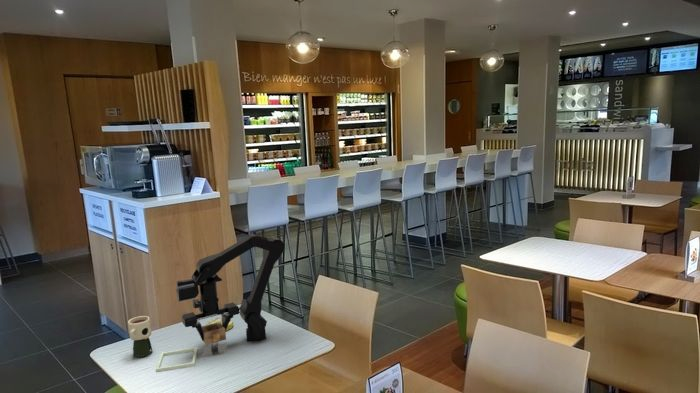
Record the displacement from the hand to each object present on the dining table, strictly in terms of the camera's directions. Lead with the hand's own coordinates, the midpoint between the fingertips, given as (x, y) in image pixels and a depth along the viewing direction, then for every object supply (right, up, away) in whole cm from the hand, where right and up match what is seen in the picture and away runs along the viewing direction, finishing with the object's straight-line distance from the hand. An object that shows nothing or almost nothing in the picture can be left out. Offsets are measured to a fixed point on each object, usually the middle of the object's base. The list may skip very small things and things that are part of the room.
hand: (213, 337), depth 166 cm
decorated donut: (-3, -3, +19) cm, 20 cm away
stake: (0, -5, +1) cm, 5 cm away
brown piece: (0, 0, 0) cm, 0 cm away
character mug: (-26, -7, +2) cm, 27 cm away
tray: (-10, -7, -6) cm, 14 cm away
